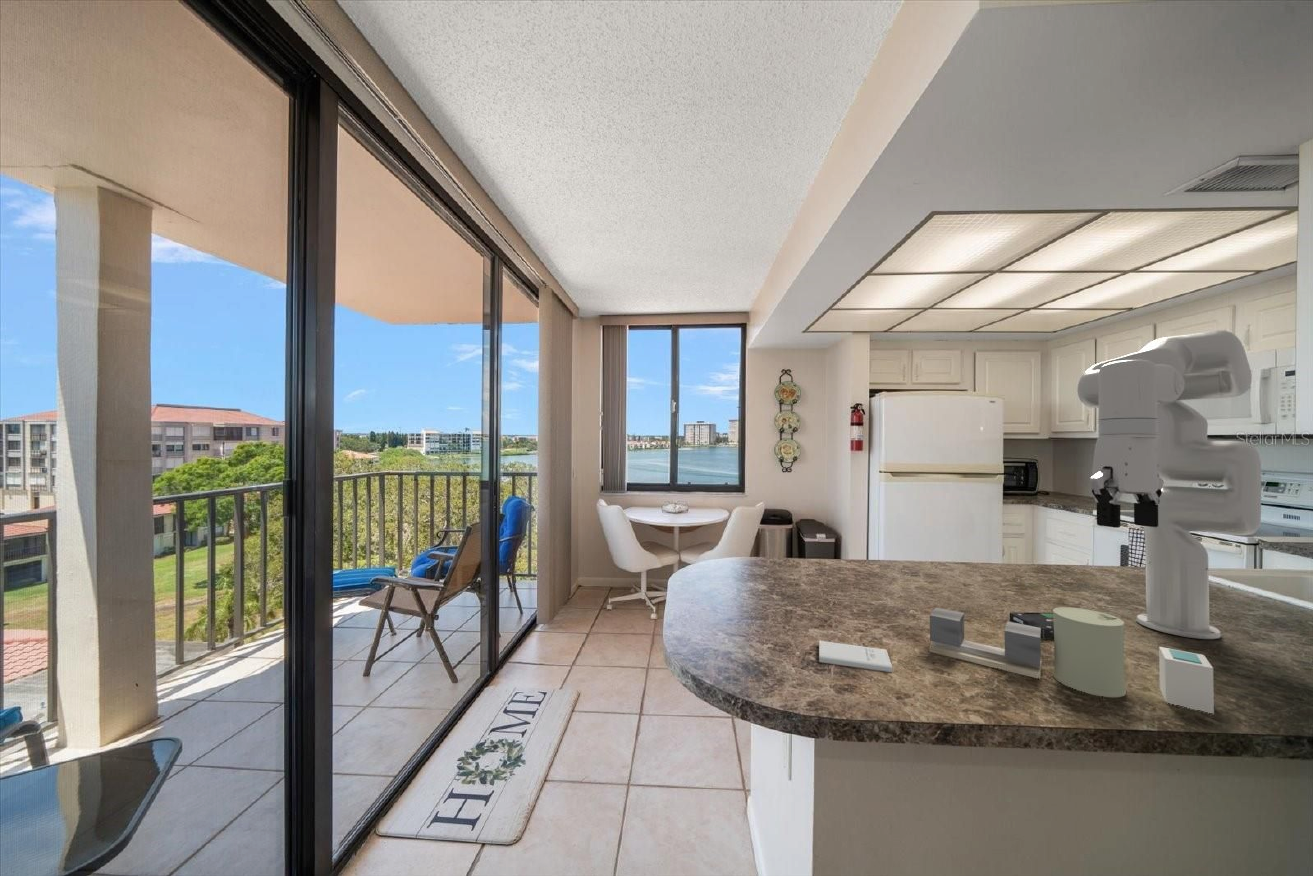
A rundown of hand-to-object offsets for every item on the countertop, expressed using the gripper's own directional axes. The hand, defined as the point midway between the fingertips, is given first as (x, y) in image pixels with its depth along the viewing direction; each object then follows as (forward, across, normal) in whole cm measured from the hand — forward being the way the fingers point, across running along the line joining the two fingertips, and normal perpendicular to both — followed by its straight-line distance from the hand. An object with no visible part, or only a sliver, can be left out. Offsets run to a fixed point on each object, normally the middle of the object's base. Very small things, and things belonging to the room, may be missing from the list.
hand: (1127, 526), depth 85 cm
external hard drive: (+28, +41, -20) cm, 54 cm away
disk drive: (+26, -12, -19) cm, 35 cm away
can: (+27, +9, 0) cm, 28 cm away
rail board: (+27, +18, -13) cm, 34 cm away
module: (+27, +1, +8) cm, 28 cm away
